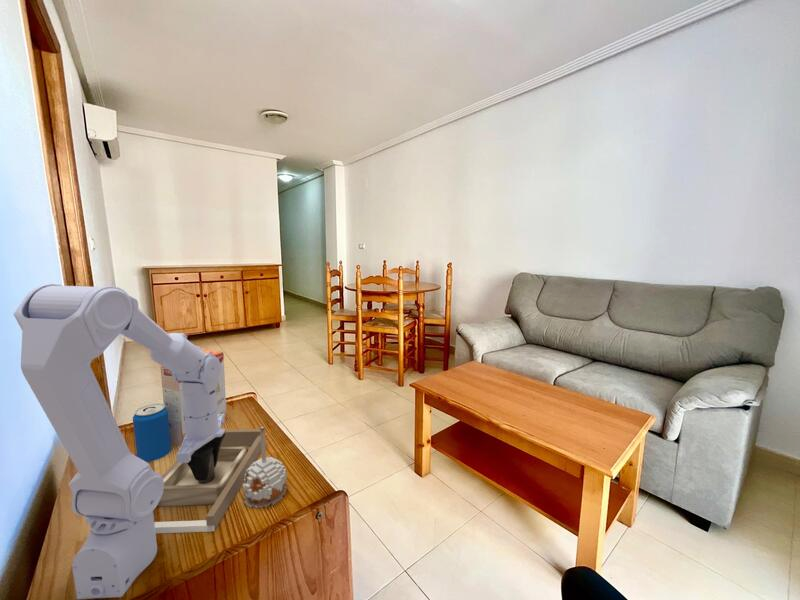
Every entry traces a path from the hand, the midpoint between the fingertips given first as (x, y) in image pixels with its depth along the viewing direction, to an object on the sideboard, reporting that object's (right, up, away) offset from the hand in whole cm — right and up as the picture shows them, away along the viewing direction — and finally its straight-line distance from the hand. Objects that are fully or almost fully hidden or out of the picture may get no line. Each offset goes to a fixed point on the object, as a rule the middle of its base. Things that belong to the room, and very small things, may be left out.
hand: (206, 472), depth 69 cm
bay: (0, -3, +1) cm, 3 cm away
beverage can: (-18, -1, +10) cm, 20 cm away
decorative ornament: (+13, -4, -2) cm, 14 cm away
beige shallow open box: (0, -2, 0) cm, 2 cm away
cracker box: (-13, 0, +20) cm, 24 cm away
